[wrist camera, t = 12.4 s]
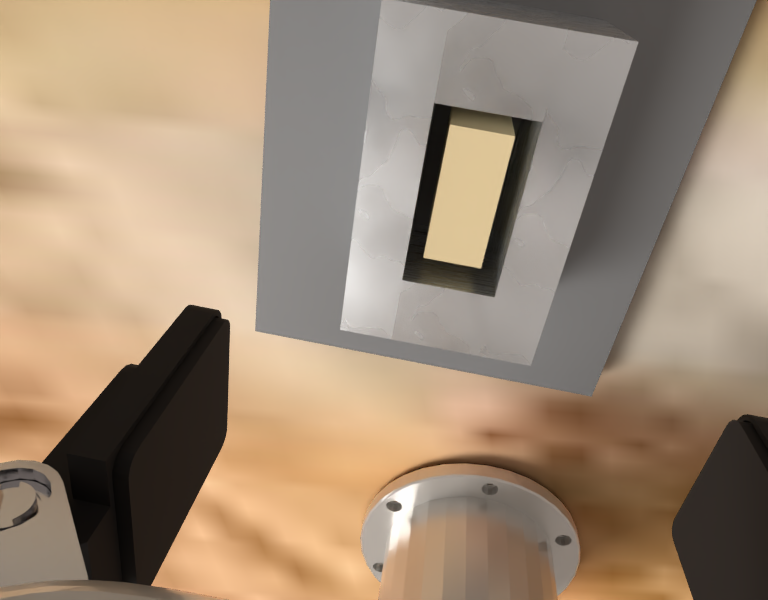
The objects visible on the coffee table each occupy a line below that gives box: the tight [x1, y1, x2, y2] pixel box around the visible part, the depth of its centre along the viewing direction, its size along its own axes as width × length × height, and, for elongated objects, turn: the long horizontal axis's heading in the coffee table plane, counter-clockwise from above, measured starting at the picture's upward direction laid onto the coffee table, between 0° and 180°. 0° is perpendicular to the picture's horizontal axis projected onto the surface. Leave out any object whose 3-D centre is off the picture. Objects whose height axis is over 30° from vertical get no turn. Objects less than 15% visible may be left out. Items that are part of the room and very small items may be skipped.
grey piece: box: [255, 0, 757, 396], centre depth 23 cm, size 20×16×6 cm
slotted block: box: [340, 0, 638, 366], centre depth 22 cm, size 11×7×5 cm, turn 172°
